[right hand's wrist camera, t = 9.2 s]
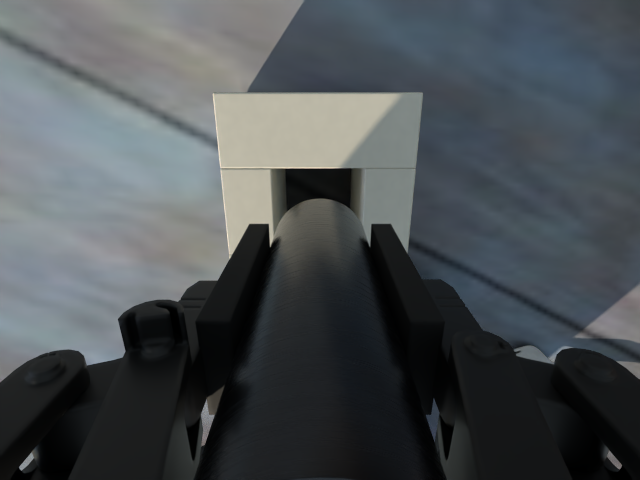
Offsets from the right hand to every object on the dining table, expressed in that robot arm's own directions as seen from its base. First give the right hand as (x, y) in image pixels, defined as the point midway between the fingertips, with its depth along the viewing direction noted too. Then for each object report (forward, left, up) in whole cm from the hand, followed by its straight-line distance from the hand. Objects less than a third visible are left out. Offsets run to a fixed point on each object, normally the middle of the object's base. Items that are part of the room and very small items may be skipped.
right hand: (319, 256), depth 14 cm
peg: (0, 0, -2) cm, 2 cm away
